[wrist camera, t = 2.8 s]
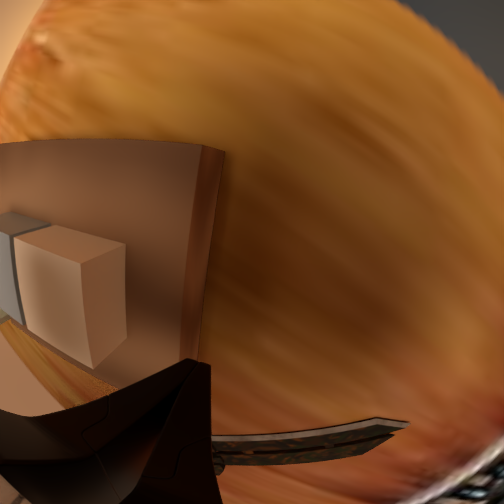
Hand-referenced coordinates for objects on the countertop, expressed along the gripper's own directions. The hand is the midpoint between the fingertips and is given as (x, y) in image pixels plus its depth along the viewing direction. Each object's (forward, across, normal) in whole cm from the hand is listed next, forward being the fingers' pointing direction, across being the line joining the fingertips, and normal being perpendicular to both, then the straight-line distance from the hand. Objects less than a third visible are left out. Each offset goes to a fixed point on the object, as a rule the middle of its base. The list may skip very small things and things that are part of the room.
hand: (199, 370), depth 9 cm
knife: (+7, -2, +13) cm, 15 cm away
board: (+6, +10, 0) cm, 12 cm away
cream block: (+3, +7, 0) cm, 8 cm away
